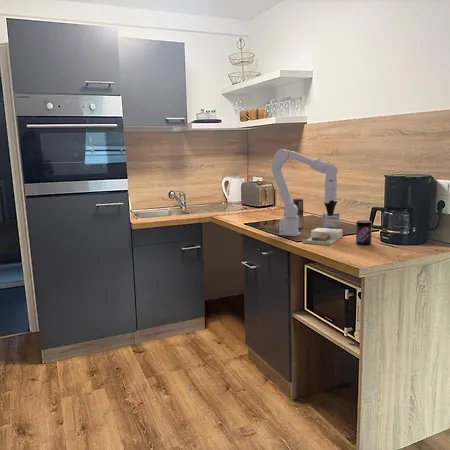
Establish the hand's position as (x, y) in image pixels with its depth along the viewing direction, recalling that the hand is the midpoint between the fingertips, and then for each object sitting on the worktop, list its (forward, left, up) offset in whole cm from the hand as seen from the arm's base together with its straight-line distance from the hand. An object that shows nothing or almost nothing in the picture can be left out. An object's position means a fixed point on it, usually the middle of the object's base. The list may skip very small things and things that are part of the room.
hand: (330, 215), depth 211 cm
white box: (0, -6, -10) cm, 11 cm away
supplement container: (+20, -14, -10) cm, 26 cm away
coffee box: (-24, +13, -10) cm, 30 cm away
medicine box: (-4, +17, -10) cm, 20 cm away
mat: (0, -17, -10) cm, 20 cm away
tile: (0, -15, -10) cm, 18 cm away
